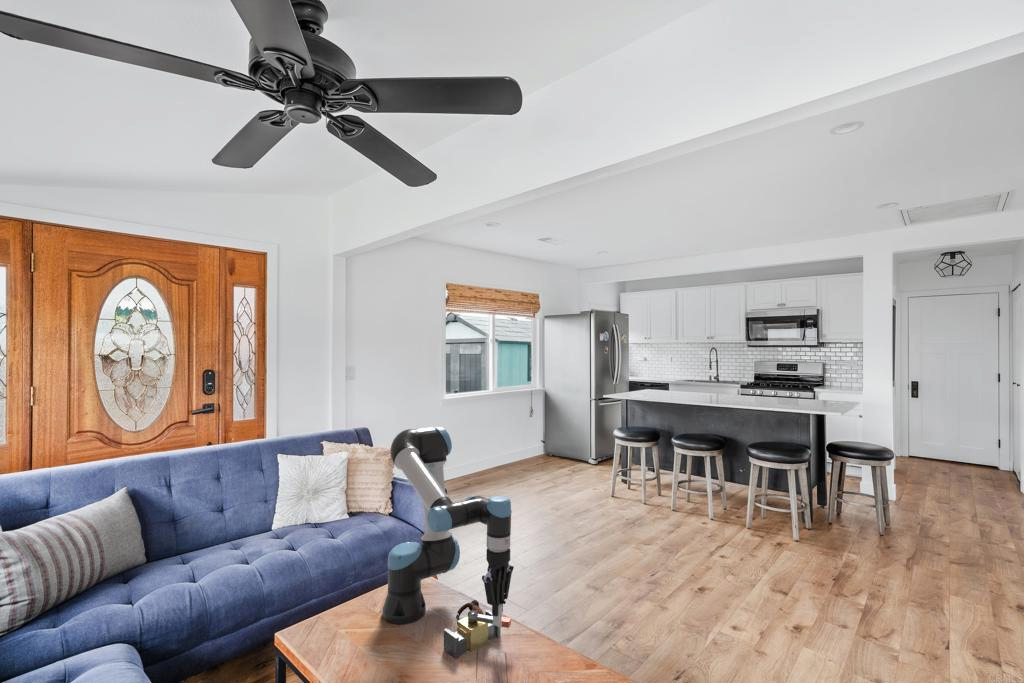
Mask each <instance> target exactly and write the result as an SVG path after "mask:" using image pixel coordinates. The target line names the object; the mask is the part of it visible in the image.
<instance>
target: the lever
mask: <svg viewBox="0 0 1024 683" xmlns="http://www.w3.org/2000/svg"><path fill="white" fill-rule="evenodd" d="M467 616H468V622H469V623H476V622H477V621H478V622H484V623H489V624H493V616H488V615H485V614H484V615H482V614H478V612H477V611H475V610H472V611H470V610H469V611H468V612H467ZM511 625H512V618H509V617H504V616H502V626H501V627H502V628H507V629H509V628H510V627H511ZM501 627H500V628H501Z"/></svg>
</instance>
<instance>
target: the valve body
mask: <svg viewBox="0 0 1024 683" xmlns="http://www.w3.org/2000/svg"><path fill="white" fill-rule="evenodd" d="M484 615H488V616H493V615H492V610H489V609H486V610H485V612H484ZM460 619H461V620H459V621H458V625H457V631H455V632H453V631H452V630H450V629H449V628H444V629H443V651H444V652H445V653H447V654H448V655H449V656H450V657H452V658H453V659H454V660H455V661H456V660H458V659H459V658H460V656H461V655H464V654H466V653H467V652H469V653H471V654H472V653H473V652H475V651H477V650H479V649H481V648H483V647H485V646H486V645H488V644H489V641H491V640H493V639H495V638H497V639H499V638H501V627H498V626H495V625H493V624H489V623H484V622H478V621H477V622H476V623H469V622H468V617H467V616H466V617H463V619H462V618H460Z"/></svg>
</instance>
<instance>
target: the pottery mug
mask: <svg viewBox="0 0 1024 683" xmlns="http://www.w3.org/2000/svg"><path fill="white" fill-rule="evenodd" d="M466 609H468V610H469V611H472V610H475V611H477V612H478V614H482V615H485V612H483V610H482V608H481V607H480V604H479V601H478V600H477V599H473V600H472V601H471V602H467V603H465V604H463V605H461V606H460V608H458V610H457V614H456V616H455V619H456V625H457V626H458V621H459V620H461V619H463V618H464V617H463V618H460V616H461V615H462V613H463V612H464V611H465V610H466ZM466 617H468V615H467V616H466Z"/></svg>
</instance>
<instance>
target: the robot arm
mask: <svg viewBox="0 0 1024 683" xmlns="http://www.w3.org/2000/svg"><path fill="white" fill-rule="evenodd" d="M452 444H453V443H452V439H451V436H450V434H449V432H448V431H447V429H445V428H444V427H442V426H429V427H419V428H410V429H409V428H408V429H405V430H403V431H401V432H399V433H398V434H396V436H395V437H394V438H393V440H392V443H391V446H390V459H391V460H392V463H393V465H394V466H395V468H397V469H398V470H400V471H402V472H403V474H404V475H405V477H406V479H407V480H408V482H409V483H410V485H411V486H412V488H413V489H414V491H415V492H416V493H417V495H418V497H419V498H420V500H421V501H422V509H423V520H424V521H423V524H424V534H423V535H422V536H421V538H420V540H421V543H419V542H417V541H406V542H402V543H399V544H396V545H395V546H394V547H392V548H391V549H390V551H389V552H388V553H389V554H388V557H387V594H386V597H385V599H384V604H383V607H382V618H383V620H384V621H386V622H388V623H390V624H395V625H407V624H411V623H414V622H417V621H418V620H421V619H422V618H423V617H424V616H425V614H426V611H427V610H426V608H427V604H426V601H425V598H424V595H423V592H422V580H425V579H428V578H432V577H434V576H438V575H441V574H446V573H448V572H450V571H453V570H455V568H456V567H457V566H458V564H459V561H460V556H461V551H460V550H461V548H460V544H458V543H459V542H458V539H457V538H455V537H454V536H453V533H452V532H451V531H450V530H453V529H454V530H455V529H457V528H460V527H466V526H469V525H473V524H477V523H481V524H483V525H486V557H485V558H486V559H485V560H486V562H487V563H488V566H487V572H486V574H485V575H482V576H481V580H482V581H483V585H484V591H485V597H486V603H487V604H488V605H490V606H491V612H492V615H493V625H495V626H498V627H500V628H501V626H502V617H503V612H504V605H505V604H506V603H507V601H506V600H507V599H508V597H509V592H510V586H511V581H512V579H511V578H512V574H513V571H514V568H515V567H514V566H513V565H511V564H510V562H511V534H512V531H511V528H512V523H511V522H512V502H511V499H510V498H509V497H507V496H502V495H495V496H490V497H489V498H486V497H485V496H481V495H476V494H472V495H470V496H468V497H467V498H466V499H465V500H463V501H457V502H453V501H452V500H451V498H450V497H449V495H447V493H446V489H445V488H446V487H445V486H446V485H445V475H444V474H445V473H444V465H445V464H446V462H447V456H448V455H450V454H451V452H452V450H453V449H452V448H453V446H452Z"/></svg>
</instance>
